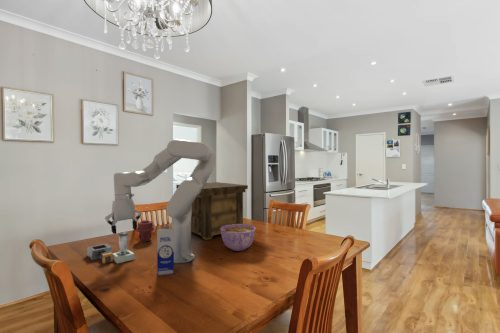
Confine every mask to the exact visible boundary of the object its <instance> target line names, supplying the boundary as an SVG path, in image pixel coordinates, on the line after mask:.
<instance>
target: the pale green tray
mask: <svg viewBox="0 0 500 333" xmlns="http://www.w3.org/2000/svg"><path fill="white" fill-rule="evenodd" d="M134 260H136V258H135V253H134V252H133V251H131V250H129V249H128V254H127V255H123V256H119V251H118V252H112V261H114V262H115V263H116V264H121V263H125V262H129V261H134Z"/></svg>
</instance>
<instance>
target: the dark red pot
mask: <svg viewBox="0 0 500 333" xmlns="http://www.w3.org/2000/svg"><path fill="white" fill-rule="evenodd" d="M154 229H155V227H154V226H153V221H151V220H148V219H143V220H141V221H139V222H137V227H136V230H135V231H136V232H138V240H139V242H141V243H143V242H151V239H152V231H154Z"/></svg>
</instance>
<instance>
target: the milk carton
mask: <svg viewBox="0 0 500 333" xmlns="http://www.w3.org/2000/svg"><path fill="white" fill-rule="evenodd" d="M156 240H157V241H156V244H157V245H156V248H157V250H156V252H157V254H156V255H157V262H156V263H157V264H156V266H157V268H156V269H157V271H156V272H157V274H156V275H157V276H158V277H159V276H166V275H174V274H175V272H174V271H175V268H174V267H175V263H174V228H172V227H171V228H170V226H162V228H159V229H156Z"/></svg>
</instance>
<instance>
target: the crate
mask: <svg viewBox="0 0 500 333" xmlns="http://www.w3.org/2000/svg"><path fill="white" fill-rule="evenodd" d="M179 185H180V184H176V185H175V186H176V187H175V188H176V189H177V188H178V187H179ZM248 188H249V187H248V185H247V184H238V183H237V184H236V183H228V182H217V181H216V182H206V184H205V185H204V187H203V189H202V191H201V192H200V194H199V195H198V196H197V197H196V198H195V200H194V201H193V203H192V215H191V234H192V233H194V234H197V235H199V236H200V237H201V238H202V239H203V240H205V241H208V240H213V236H216V235H217V236H218V235H221V230H220V228H221V227H223V226H225V225H230V224H244V198H243V197H244V193H246V190H248Z"/></svg>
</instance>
